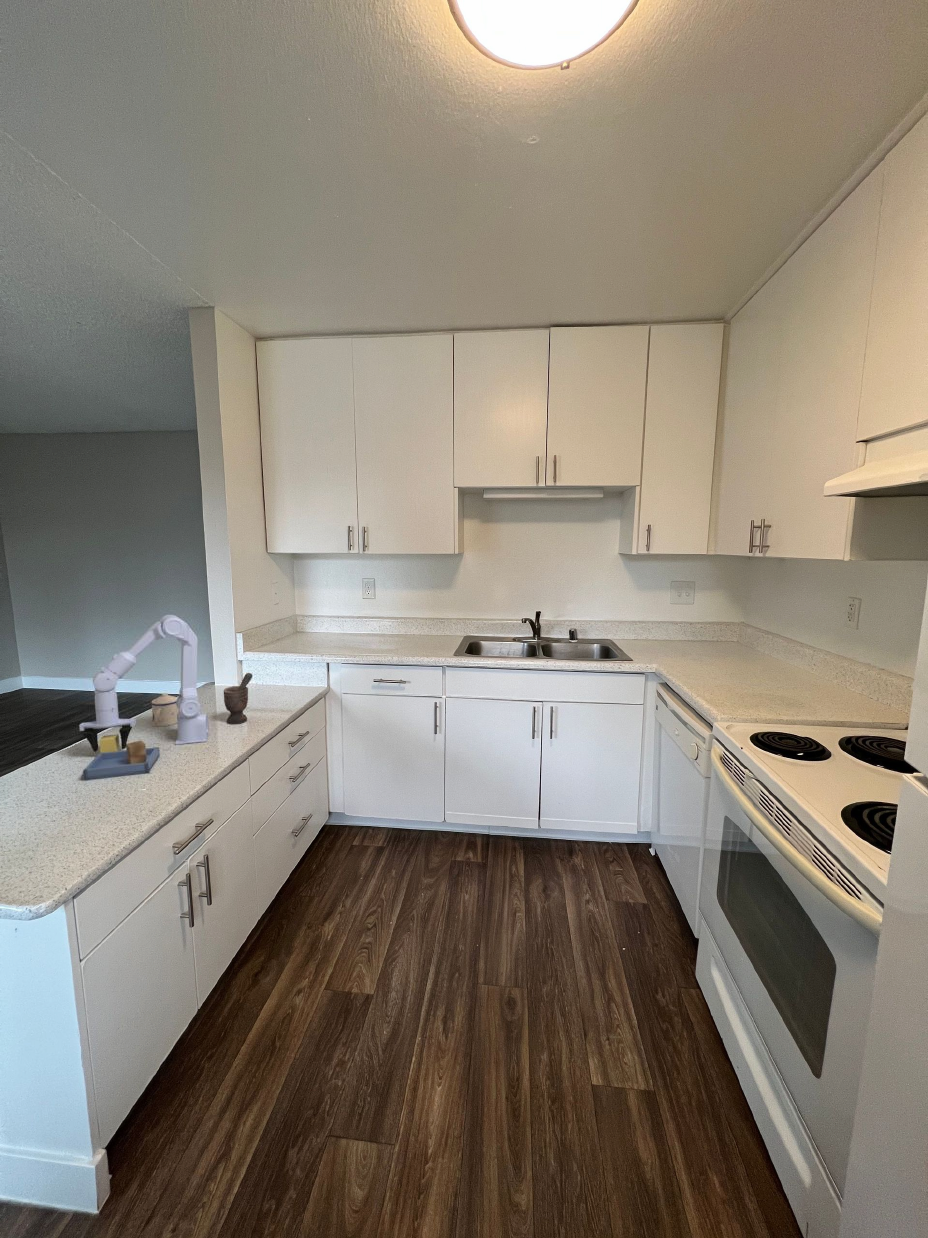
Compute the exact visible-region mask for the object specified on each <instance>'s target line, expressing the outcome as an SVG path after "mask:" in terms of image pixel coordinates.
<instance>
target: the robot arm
mask: <svg viewBox="0 0 928 1238" xmlns="http://www.w3.org/2000/svg"><path fill="white" fill-rule="evenodd" d="M167 636H169V637H172V638H174V639H176V640H177V641H178V642H180V644H181V648H180V649H181V651H180V654H181V656H180V688H179V695H178V697H177V698H178V699H177V701H176V706H177V707H178V709H179V713H178V714H177V723H176V726H177V739H176V741H175V743H174V745H182V744H183V745H184V744H194V743H202V742H203V743H204V742H206V741H207V740H208V738H209V736H210V726H209V714H208V713H201V703H200V702H199V699H198V696H199V694H198V691H197V685H198V684H197V683H198V682H197V680H198V679H197V678H198V677H197V675H198V643H199V642H198V640H199V639H198V637H197V635H196V634H195V633H194V631H193V630H192V629H191V627H190V626H189V625H188V623H187V622H186V621H184V620H183V619H181V618H180V617H178V616H177V615H175V614H167V615H164V616H163V617H161V618H160V619H159V621H157V622H155V623H154V624H153V625H152V626H151V627H149V629H147V630H146V631H145V632H144V634H143V635H142V636H140V638H139V639H138V640H137V641H136V642H135V643H134V644H132V646H131V647H130V648H129V649H128V650H127V651H120V652H119V653H118V654H117V653H115V654H114V655H113V656H112V659H111V660H110V661H109V663H107V664H106V665H105V666H102V667H101V668H100V671H98V672H97V673H95V675H94V676H93V677H92V678H93V679H92V683H93V686H94V706H95V708H94V709H95V717H96V718H95V720H94V721H88V722H81V723H80V724H79V732H81V731H83V732H82V736H84V737H85V738H86V740H87V741H88V742H89V745H90V746H91V749H92V752H93V753H96V752H98V750H99V741H98V733H99V732H98V731H99V730H100V729H109V728H110V729H111V728H119V730H118V731H119V737H120V742H121V743H120V746H121V747H120V748H121V750H124V749H125V750H126V744H128V743H127V742H128V738H129V736H130V732H131V731H132V728H133V727H135V725H136V724H137V723H136V718H120V717H119V707H118V706H119V705H118V693H117V691H116V686H117V684H118V680H120V679H122V678H123V677H124V676H125V675H126V674H128V673H129V671H130V670H131V669H133V668H134V667H135V665H136V664H137V658H138V657H139V656H140V655H141V654H142V653H143V652H145V650H147V649H148V648H149V646H150V645H152V644H153V643H154V642H155V641H157V640H162V639H166V638H167Z"/></svg>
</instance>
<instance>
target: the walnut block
mask: <svg viewBox="0 0 928 1238" xmlns="http://www.w3.org/2000/svg"><path fill="white" fill-rule="evenodd" d="M146 746H147V745H146V743H145V742H144V741H143V740H138V741H137V740H136V741H133V742H129V743H127V744H126V748H125V750H127V763H128V764H136V763H145V762H146V761H147V760H146V748H147V747H146Z"/></svg>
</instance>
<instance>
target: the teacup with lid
mask: <svg viewBox="0 0 928 1238" xmlns="http://www.w3.org/2000/svg"><path fill="white" fill-rule="evenodd" d="M177 699H178V697H177V696H172V695H170V694H169V693H167V692H163V693H162V694H161V695H160V696H158V697H157V698H155V699H153V700H151V702H150V705H151V710H152V711H151V712H152V713H151V714H152V725H153V726H155V727H168V725H169V726H172V725H177V714H178V713H179V711H180V710H179V709H178V707H177V706H176V701H177Z"/></svg>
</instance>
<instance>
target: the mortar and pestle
mask: <svg viewBox="0 0 928 1238" xmlns="http://www.w3.org/2000/svg"><path fill="white" fill-rule="evenodd" d="M252 678H253V674H252V673H250V672H246V674H245V675H244V676H243V678H242V679H241V682H240V685H233V686H229V687H225V688H224V689H223V701H224V706H225V709H226V710H227V711H228V712H229V713H230V714H229V715H228V717H227V718H226V724H229V725H237V724H244V723H246V722H247V721H248V717H247V715H246V714H244V710H246V708H247V706H248V702H249V687H248V686H247V685H249V683H250V682H251V680H252Z"/></svg>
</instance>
